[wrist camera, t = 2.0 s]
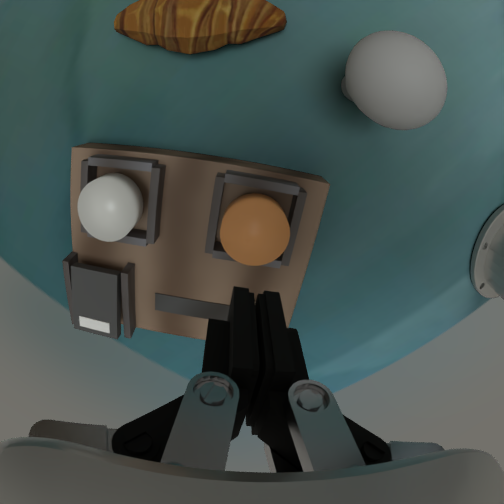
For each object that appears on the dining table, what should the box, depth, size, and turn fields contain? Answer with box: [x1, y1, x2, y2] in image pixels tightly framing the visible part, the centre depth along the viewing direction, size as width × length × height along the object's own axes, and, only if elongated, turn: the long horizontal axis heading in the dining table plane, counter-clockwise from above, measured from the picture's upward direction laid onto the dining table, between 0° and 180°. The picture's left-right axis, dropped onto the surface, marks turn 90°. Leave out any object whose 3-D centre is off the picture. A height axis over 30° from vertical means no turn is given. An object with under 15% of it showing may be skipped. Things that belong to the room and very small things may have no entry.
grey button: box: [78, 173, 143, 242], centre depth 19 cm, size 4×4×2 cm
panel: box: [63, 143, 330, 340], centre depth 24 cm, size 20×16×5 cm
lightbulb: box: [341, 31, 447, 130], centre depth 16 cm, size 6×6×11 cm
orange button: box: [220, 193, 290, 266], centre depth 20 cm, size 4×4×2 cm
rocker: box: [71, 262, 121, 339], centre depth 23 cm, size 4×6×1 cm
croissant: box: [114, 0, 287, 54], centre depth 16 cm, size 14×7×5 cm, turn 85°
